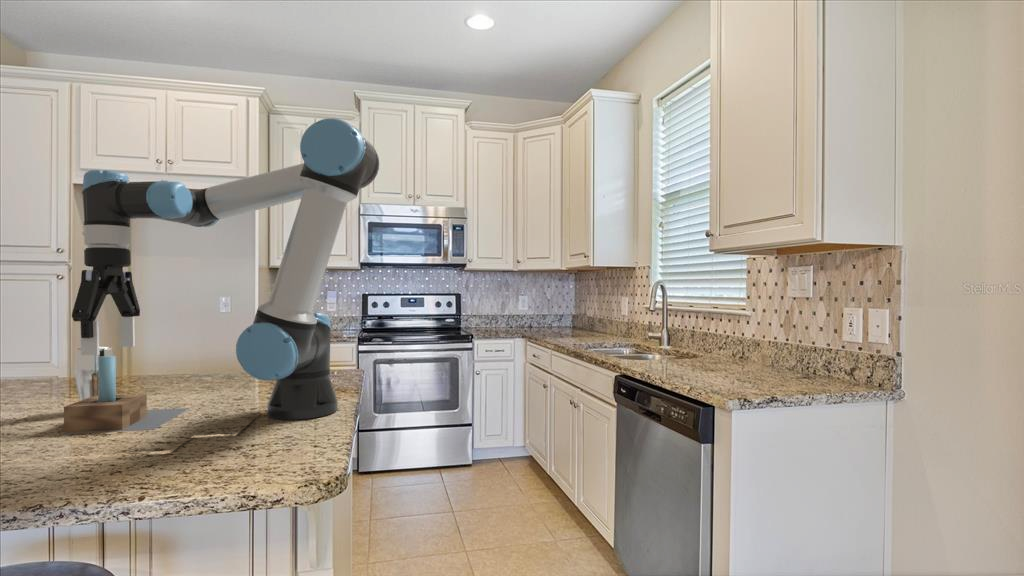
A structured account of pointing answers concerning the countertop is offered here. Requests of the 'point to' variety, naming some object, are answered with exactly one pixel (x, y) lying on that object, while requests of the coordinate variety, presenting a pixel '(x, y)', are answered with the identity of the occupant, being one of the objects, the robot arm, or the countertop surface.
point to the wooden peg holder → (105, 413)
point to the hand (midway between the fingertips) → (109, 350)
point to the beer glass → (88, 371)
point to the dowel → (107, 379)
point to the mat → (147, 420)
